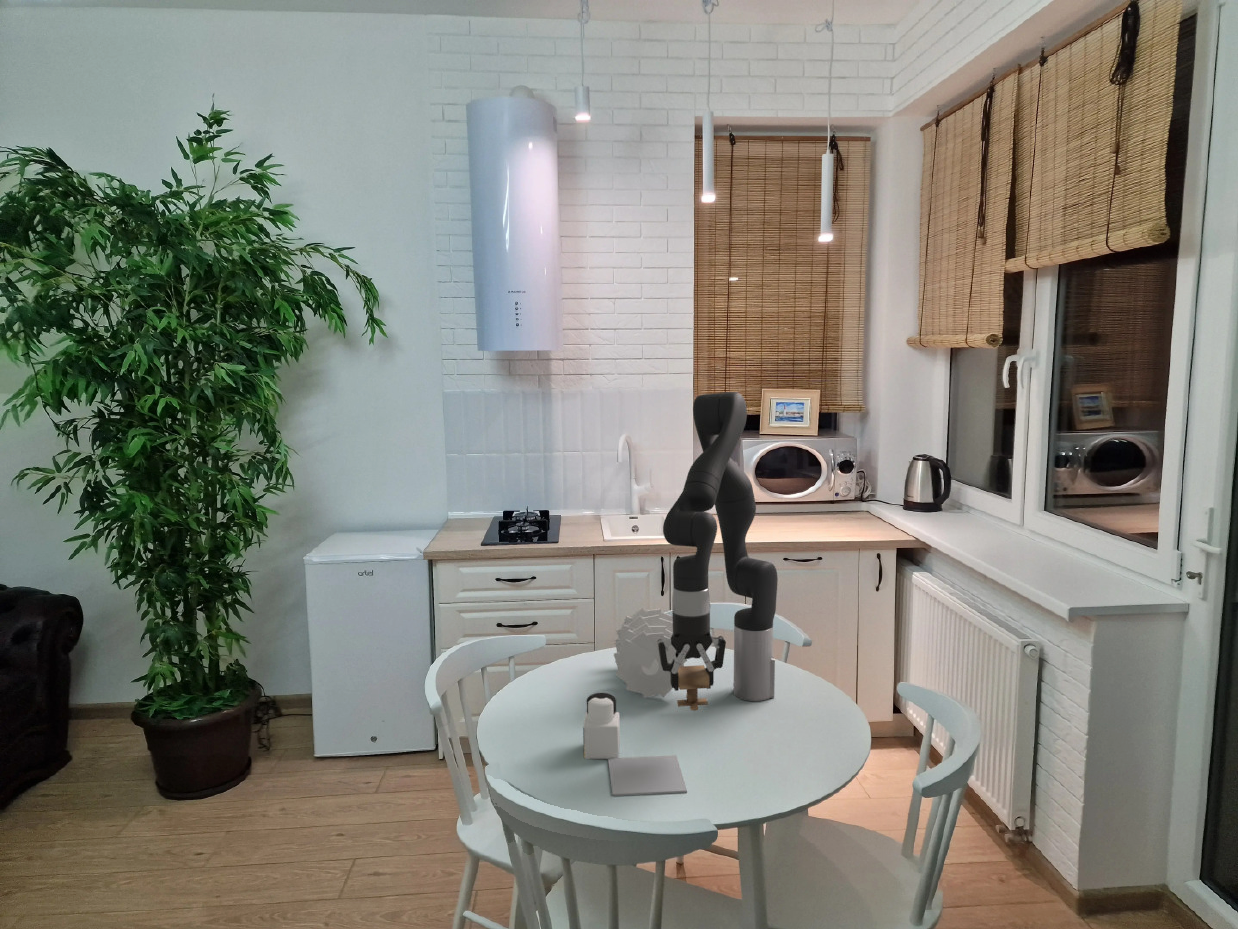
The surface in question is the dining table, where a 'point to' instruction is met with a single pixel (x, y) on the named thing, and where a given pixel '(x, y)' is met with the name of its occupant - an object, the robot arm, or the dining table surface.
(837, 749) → the dining table surface
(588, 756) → the blocky figurine
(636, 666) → the spiral staircase
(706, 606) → the robot arm
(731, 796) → the dining table surface
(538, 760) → the dining table surface
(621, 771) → the mat
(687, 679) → the wooden pedestal stool
